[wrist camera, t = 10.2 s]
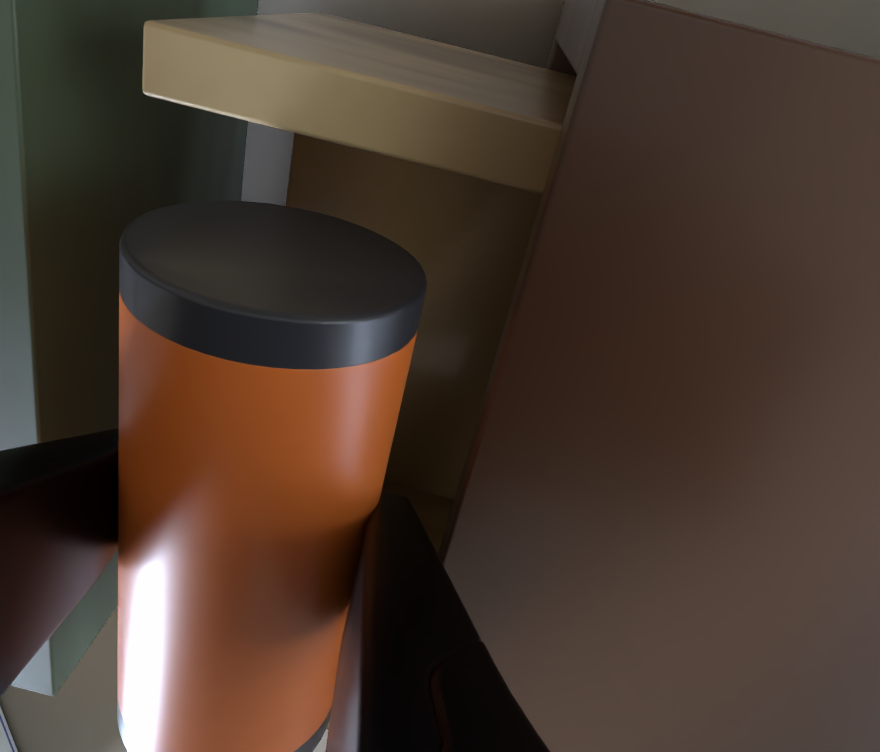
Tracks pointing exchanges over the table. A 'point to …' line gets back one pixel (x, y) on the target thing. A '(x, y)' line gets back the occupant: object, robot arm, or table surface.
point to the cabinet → (689, 401)
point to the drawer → (220, 179)
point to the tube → (249, 463)
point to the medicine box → (5, 736)
